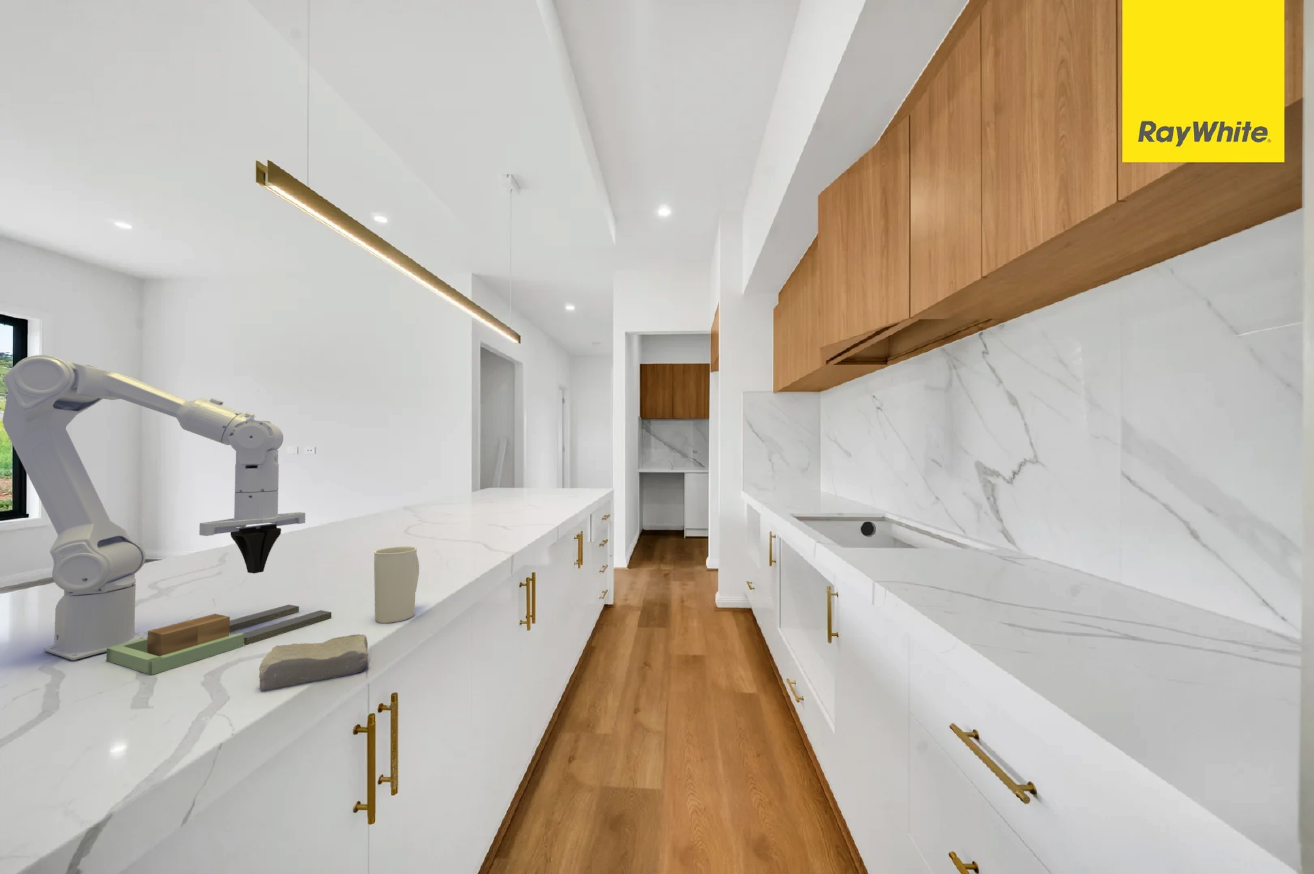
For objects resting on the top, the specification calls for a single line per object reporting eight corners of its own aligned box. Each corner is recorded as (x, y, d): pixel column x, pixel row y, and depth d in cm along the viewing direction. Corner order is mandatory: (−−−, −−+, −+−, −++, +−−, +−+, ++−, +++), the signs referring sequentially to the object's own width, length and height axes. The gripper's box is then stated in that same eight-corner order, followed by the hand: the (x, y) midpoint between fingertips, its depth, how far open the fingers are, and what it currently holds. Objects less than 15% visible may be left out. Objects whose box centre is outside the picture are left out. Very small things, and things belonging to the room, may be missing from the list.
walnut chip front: (147, 658, 70) (147, 630, 70) (182, 648, 74) (183, 621, 74) (161, 663, 69) (162, 634, 69) (197, 652, 72) (198, 625, 72)
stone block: (269, 680, 67) (253, 696, 59) (272, 643, 68) (258, 653, 60) (368, 664, 73) (367, 677, 65) (370, 630, 74) (369, 638, 66)
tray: (106, 660, 69) (106, 647, 69) (198, 634, 79) (198, 623, 79) (151, 675, 65) (152, 661, 65) (243, 645, 74) (243, 633, 74)
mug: (399, 624, 83) (400, 554, 84) (364, 623, 84) (364, 553, 84) (434, 606, 93) (434, 543, 94) (401, 604, 94) (402, 542, 94)
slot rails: (202, 633, 79) (202, 627, 79) (288, 609, 91) (288, 604, 91) (247, 644, 75) (247, 637, 75) (331, 617, 87) (331, 612, 87)
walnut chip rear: (182, 648, 74) (183, 621, 74) (214, 638, 78) (215, 613, 78) (197, 652, 72) (197, 625, 72) (229, 642, 76) (229, 616, 76)
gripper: (217, 495, 74) (216, 585, 74) (316, 488, 87) (315, 564, 87) (192, 494, 77) (190, 580, 76) (292, 487, 90) (290, 561, 90)
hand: (255, 572), depth 82 cm, fingers closed
